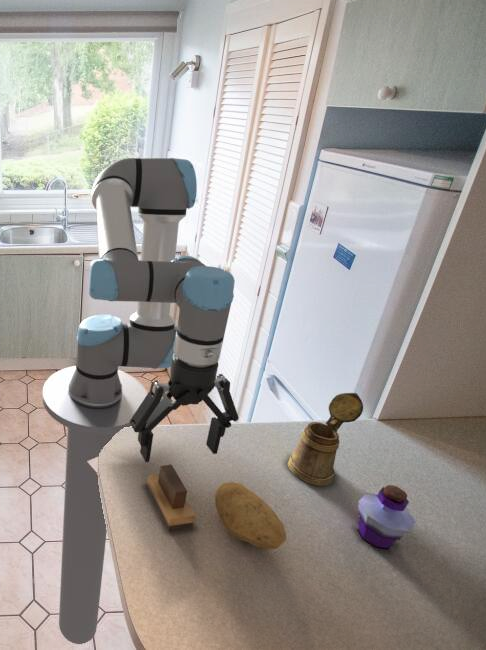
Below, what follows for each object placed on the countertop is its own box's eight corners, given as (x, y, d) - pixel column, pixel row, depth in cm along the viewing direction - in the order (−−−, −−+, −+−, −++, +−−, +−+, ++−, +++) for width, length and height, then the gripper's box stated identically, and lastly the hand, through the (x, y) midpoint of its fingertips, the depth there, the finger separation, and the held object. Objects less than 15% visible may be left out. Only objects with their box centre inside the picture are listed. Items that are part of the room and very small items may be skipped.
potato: (256, 573, 80) (266, 543, 76) (198, 513, 91) (205, 484, 88) (294, 552, 83) (305, 522, 80) (234, 496, 95) (241, 468, 91)
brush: (146, 487, 97) (150, 459, 94) (168, 484, 98) (173, 456, 94) (168, 531, 87) (173, 501, 84) (192, 527, 88) (199, 498, 85)
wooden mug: (353, 468, 102) (379, 404, 94) (316, 491, 96) (342, 424, 88) (314, 444, 109) (336, 382, 101) (278, 464, 103) (299, 399, 96)
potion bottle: (400, 530, 88) (423, 485, 82) (404, 566, 81) (430, 519, 76) (348, 510, 92) (366, 466, 87) (348, 543, 85) (368, 496, 80)
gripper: (134, 375, 72) (122, 475, 81) (275, 362, 76) (249, 459, 85) (118, 352, 79) (109, 446, 88) (249, 340, 82) (227, 432, 91)
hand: (178, 453), depth 86 cm, fingers open, 13 cm apart
